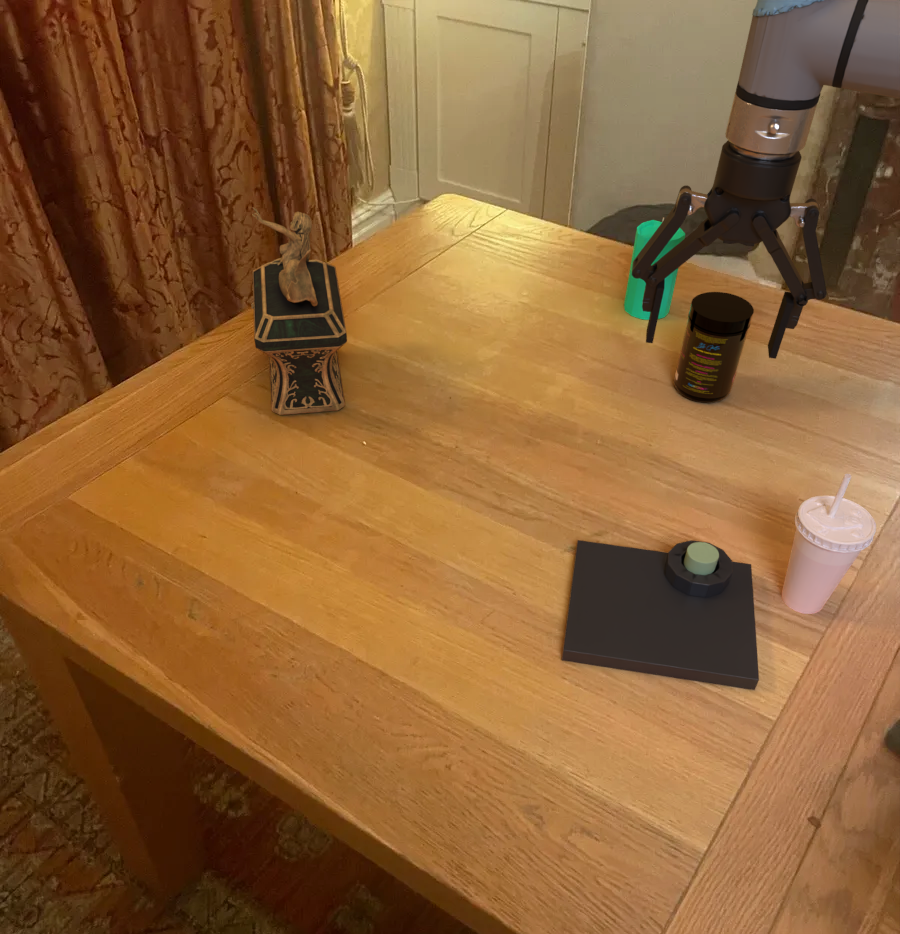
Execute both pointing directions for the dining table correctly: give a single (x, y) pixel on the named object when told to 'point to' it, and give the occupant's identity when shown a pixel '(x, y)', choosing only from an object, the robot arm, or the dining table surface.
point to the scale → (662, 615)
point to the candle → (638, 285)
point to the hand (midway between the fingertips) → (710, 344)
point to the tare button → (701, 558)
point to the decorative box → (299, 324)
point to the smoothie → (824, 548)
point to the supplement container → (712, 346)
